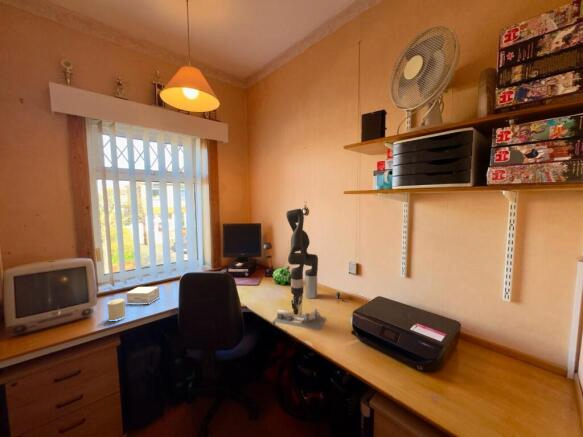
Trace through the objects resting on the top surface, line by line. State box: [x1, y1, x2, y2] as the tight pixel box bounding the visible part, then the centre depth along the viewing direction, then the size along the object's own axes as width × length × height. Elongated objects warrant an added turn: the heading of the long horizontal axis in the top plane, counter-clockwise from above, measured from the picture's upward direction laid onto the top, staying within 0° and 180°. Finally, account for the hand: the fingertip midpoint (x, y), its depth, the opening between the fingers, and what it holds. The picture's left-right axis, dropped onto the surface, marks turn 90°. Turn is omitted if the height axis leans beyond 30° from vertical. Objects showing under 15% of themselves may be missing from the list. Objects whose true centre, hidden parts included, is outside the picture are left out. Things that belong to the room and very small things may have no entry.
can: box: [107, 298, 127, 321], centre depth 156 cm, size 9×9×12 cm
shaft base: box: [272, 308, 328, 332], centre depth 148 cm, size 16×30×6 cm, turn 68°
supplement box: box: [126, 286, 160, 305], centre depth 183 cm, size 17×13×9 cm
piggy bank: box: [272, 265, 291, 286], centre depth 216 cm, size 14×18×15 cm
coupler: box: [292, 301, 303, 316], centre depth 147 cm, size 4×4×8 cm
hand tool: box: [351, 328, 357, 337], centre depth 139 cm, size 19×4×5 cm, turn 151°
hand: (297, 312), depth 147 cm, fingers closed on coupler, 4 cm apart
